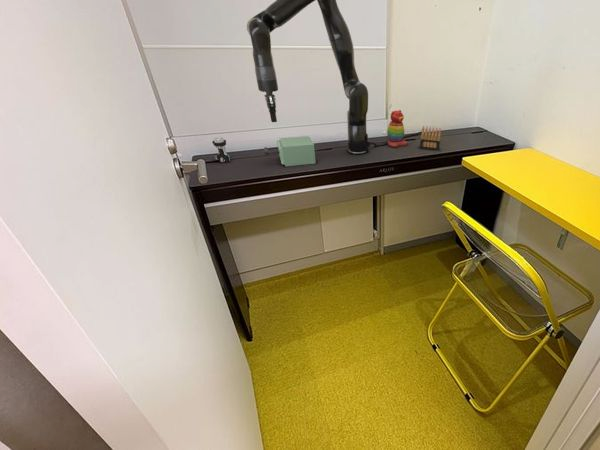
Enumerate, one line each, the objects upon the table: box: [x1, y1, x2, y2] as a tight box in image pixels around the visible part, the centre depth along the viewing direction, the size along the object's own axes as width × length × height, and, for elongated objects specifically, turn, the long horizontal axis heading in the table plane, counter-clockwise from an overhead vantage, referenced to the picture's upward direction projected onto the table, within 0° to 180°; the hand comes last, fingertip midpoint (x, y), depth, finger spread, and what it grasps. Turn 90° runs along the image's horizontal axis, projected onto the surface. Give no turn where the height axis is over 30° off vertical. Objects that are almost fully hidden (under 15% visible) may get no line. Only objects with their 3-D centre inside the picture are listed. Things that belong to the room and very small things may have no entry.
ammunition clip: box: [419, 125, 442, 151], centre depth 166 cm, size 11×2×12 cm, turn 83°
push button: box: [212, 137, 231, 163], centre depth 138 cm, size 7×5×10 cm
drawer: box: [263, 140, 285, 165], centre depth 142 cm, size 18×11×7 cm, turn 114°
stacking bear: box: [386, 109, 408, 148], centre depth 168 cm, size 11×10×18 cm
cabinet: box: [278, 135, 317, 168], centre depth 143 cm, size 14×12×9 cm
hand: (274, 121), depth 134 cm, fingers closed
